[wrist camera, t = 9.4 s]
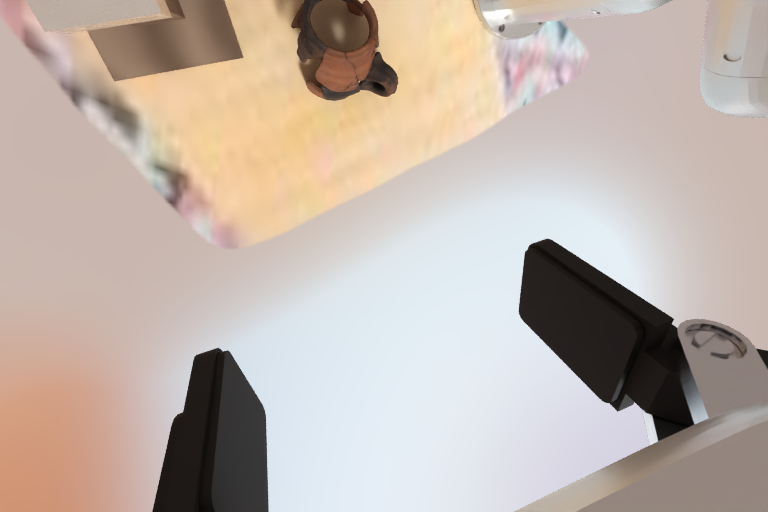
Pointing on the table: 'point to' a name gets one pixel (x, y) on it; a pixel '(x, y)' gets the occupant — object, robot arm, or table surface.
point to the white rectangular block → (95, 13)
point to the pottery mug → (345, 58)
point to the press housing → (169, 40)
